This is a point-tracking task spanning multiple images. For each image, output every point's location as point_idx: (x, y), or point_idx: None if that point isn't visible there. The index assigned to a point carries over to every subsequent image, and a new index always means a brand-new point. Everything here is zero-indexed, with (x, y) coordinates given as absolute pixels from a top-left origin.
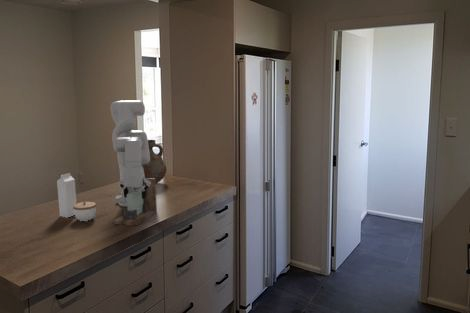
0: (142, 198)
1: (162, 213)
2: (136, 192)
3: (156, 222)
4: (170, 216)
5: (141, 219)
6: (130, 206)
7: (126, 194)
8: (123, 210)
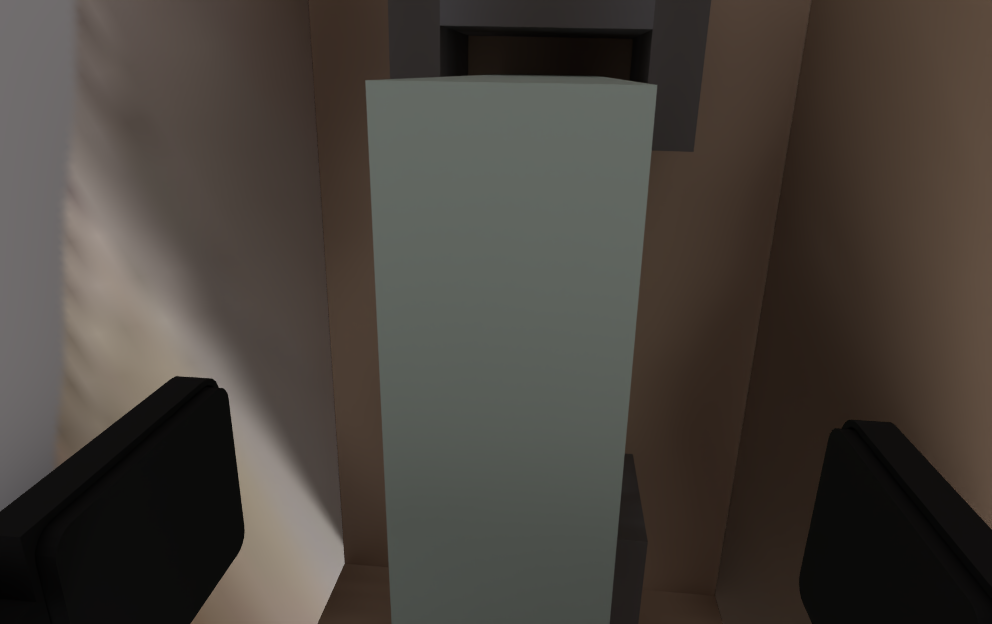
0: (193, 380)
1: (248, 521)
2: (394, 572)
3: (94, 119)
4: (69, 420)
5: (317, 80)
6: (506, 76)
7: (860, 536)
8: (704, 36)
